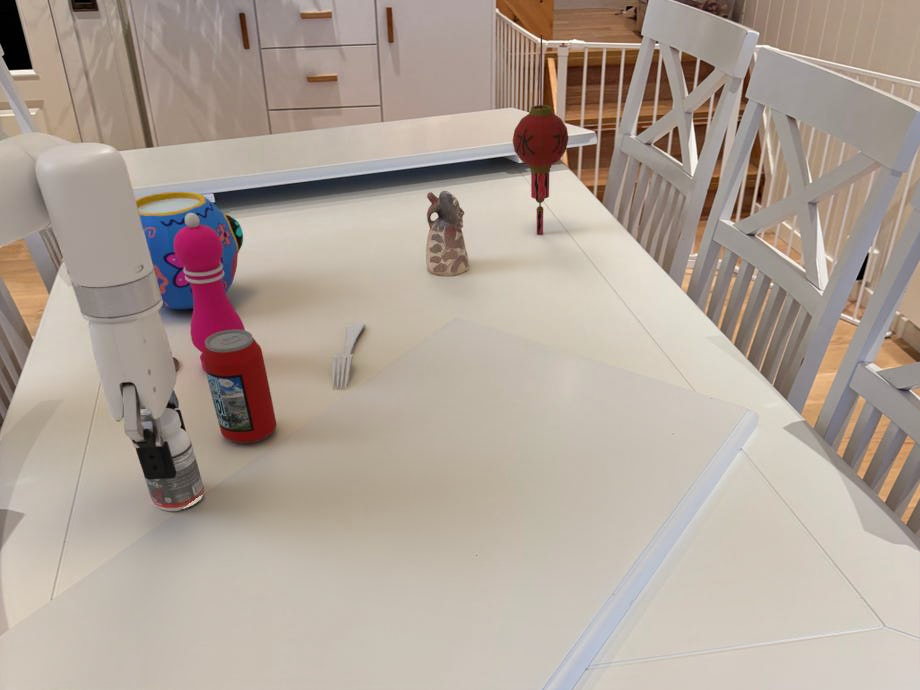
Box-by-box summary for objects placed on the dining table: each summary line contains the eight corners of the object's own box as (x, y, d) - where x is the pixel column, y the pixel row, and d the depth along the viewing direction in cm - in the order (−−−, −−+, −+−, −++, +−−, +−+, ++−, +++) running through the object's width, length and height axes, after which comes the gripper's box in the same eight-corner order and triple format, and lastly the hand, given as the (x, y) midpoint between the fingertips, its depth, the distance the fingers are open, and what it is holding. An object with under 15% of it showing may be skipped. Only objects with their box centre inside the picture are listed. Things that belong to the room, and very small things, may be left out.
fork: (368, 340, 137) (366, 321, 135) (349, 389, 120) (347, 368, 118) (349, 341, 137) (347, 322, 135) (328, 389, 120) (325, 369, 118)
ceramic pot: (270, 294, 146) (252, 194, 136) (186, 334, 135) (159, 228, 125) (195, 275, 153) (172, 179, 144) (110, 311, 143) (79, 210, 133)
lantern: (577, 231, 163) (583, 32, 143) (542, 246, 158) (544, 42, 138) (537, 221, 168) (538, 28, 148) (502, 235, 163) (499, 36, 143)
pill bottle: (144, 498, 101) (117, 416, 95) (191, 479, 104) (168, 399, 97) (167, 519, 98) (141, 436, 91) (214, 499, 101) (192, 417, 94)
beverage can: (211, 434, 112) (187, 340, 104) (257, 415, 115) (237, 322, 107) (242, 453, 108) (219, 357, 100) (288, 432, 111) (270, 337, 103)
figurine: (469, 275, 149) (465, 196, 141) (425, 277, 149) (420, 198, 141) (469, 260, 154) (466, 183, 146) (427, 261, 155) (422, 185, 147)
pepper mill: (189, 375, 125) (149, 221, 111) (213, 352, 130) (178, 203, 117) (238, 379, 123) (203, 223, 110) (260, 356, 128) (229, 205, 115)
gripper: (101, 263, 92) (150, 423, 104) (51, 332, 79) (113, 507, 91) (175, 259, 92) (215, 420, 104) (137, 327, 79) (188, 502, 91)
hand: (167, 459), depth 98 cm, fingers open, 6 cm apart
